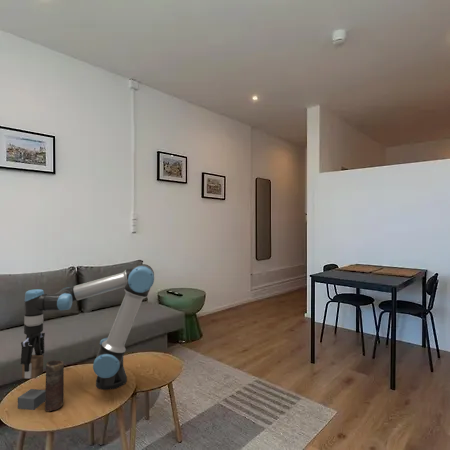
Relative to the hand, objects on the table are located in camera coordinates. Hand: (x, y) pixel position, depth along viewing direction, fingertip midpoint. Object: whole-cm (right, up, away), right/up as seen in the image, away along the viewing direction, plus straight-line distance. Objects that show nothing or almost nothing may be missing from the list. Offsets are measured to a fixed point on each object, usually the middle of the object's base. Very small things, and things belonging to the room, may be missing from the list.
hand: (32, 374), depth 148 cm
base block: (0, -13, -1) cm, 13 cm away
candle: (+12, -13, -3) cm, 18 cm away
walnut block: (0, 0, 0) cm, 0 cm away
